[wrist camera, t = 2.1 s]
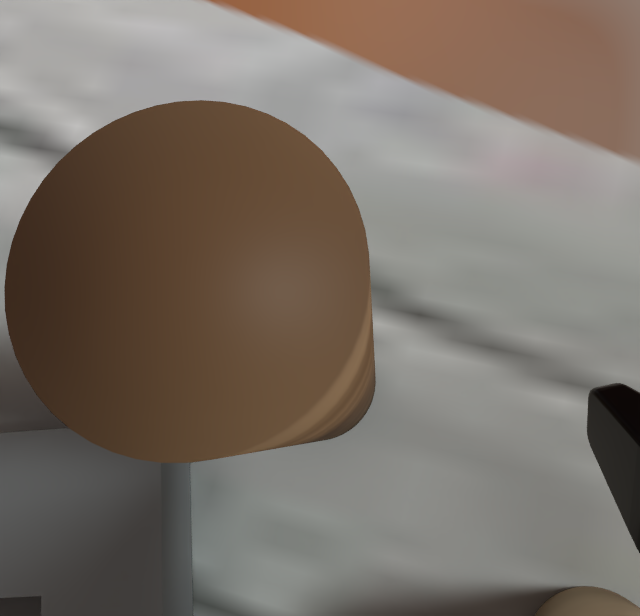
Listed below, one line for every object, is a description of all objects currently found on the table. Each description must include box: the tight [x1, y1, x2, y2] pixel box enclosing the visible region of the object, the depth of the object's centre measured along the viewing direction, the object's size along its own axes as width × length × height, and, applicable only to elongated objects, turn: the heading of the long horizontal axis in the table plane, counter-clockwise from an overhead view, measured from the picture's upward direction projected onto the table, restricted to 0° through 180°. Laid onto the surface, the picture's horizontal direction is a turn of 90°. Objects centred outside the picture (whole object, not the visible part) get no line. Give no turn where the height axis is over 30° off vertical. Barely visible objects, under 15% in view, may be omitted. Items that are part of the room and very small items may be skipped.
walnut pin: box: [5, 100, 375, 463], centre depth 12 cm, size 4×4×13 cm
